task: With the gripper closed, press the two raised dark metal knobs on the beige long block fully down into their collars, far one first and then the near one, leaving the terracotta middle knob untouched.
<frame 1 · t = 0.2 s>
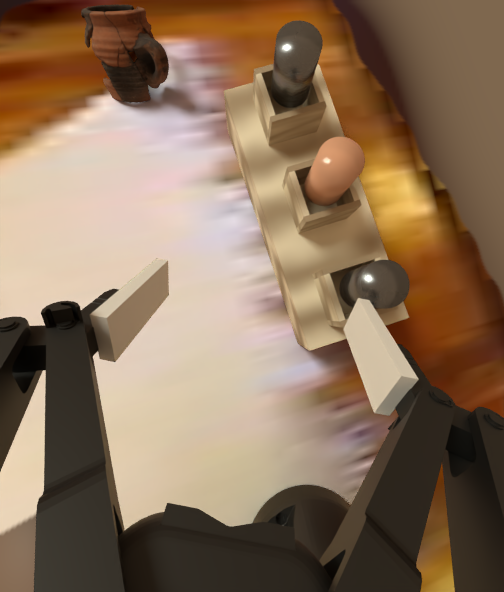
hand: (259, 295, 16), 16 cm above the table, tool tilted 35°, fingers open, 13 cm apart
beige long block: (302, 221, 33), on the table
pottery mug: (142, 78, 35), on the table
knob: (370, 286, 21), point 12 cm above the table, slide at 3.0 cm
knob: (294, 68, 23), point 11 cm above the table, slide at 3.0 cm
knob middle: (331, 174, 22), point 12 cm above the table, slide at 3.0 cm
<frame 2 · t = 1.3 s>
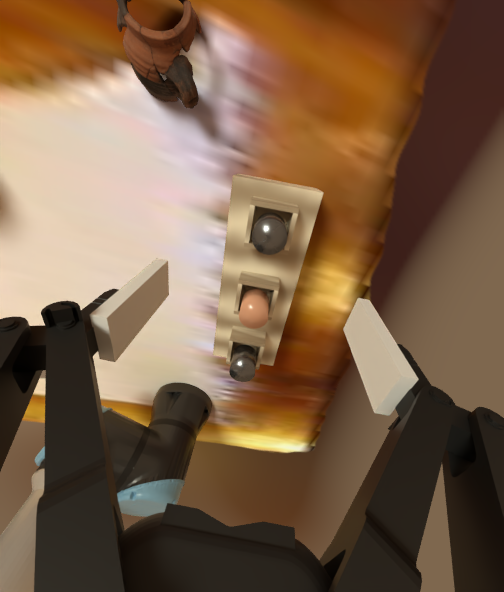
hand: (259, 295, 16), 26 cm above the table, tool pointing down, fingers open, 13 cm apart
beige long block: (259, 275, 44), on the table
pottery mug: (176, 64, 31), on the table
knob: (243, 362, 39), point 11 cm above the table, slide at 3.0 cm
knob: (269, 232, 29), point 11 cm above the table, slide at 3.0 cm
knob middle: (254, 308, 34), point 11 cm above the table, slide at 3.0 cm
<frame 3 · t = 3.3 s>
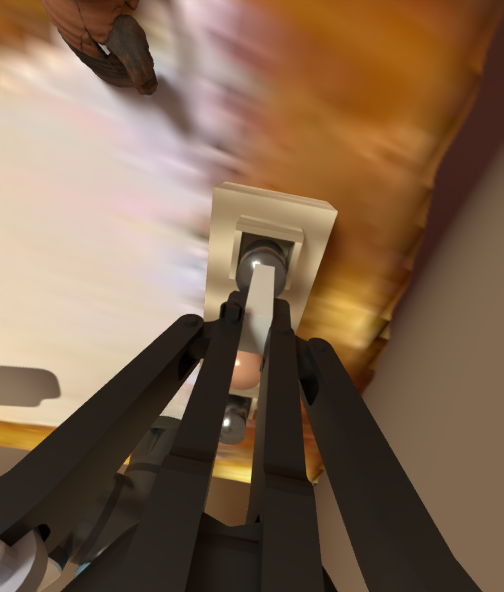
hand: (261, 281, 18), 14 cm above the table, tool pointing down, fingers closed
beige long block: (253, 304, 36), on the table
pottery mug: (130, 33, 22), on the table
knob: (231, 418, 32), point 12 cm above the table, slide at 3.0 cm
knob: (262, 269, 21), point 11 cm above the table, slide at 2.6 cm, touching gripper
knob middle: (243, 360, 26), point 12 cm above the table, slide at 3.0 cm
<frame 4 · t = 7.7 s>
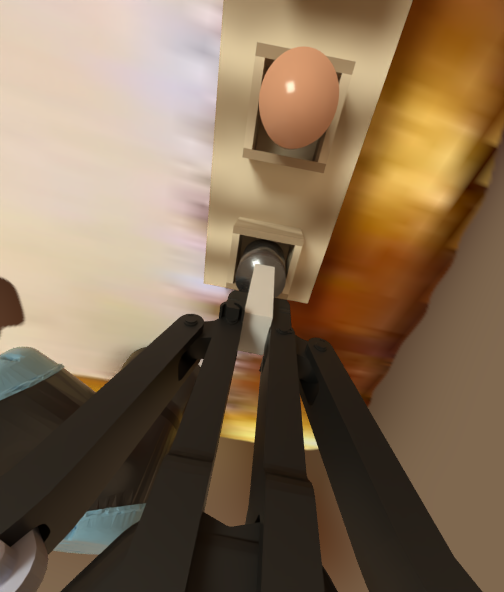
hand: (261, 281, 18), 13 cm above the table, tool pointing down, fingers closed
beige long block: (288, 128, 24), on the table
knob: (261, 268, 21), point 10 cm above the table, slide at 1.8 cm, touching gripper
knob middle: (295, 108, 14), point 11 cm above the table, slide at 3.0 cm
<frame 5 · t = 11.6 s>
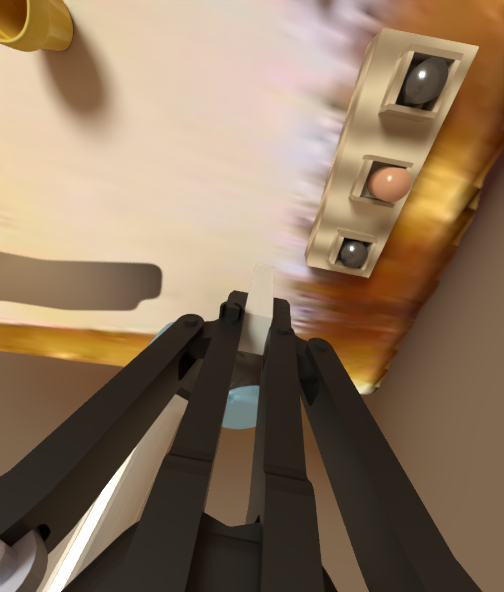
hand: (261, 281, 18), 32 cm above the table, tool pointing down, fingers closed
plant pot: (53, 22, 36), on the table
beige long block: (362, 177, 42), on the table
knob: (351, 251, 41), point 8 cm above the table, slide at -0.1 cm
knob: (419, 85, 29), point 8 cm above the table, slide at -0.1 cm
knob middle: (387, 184, 32), point 11 cm above the table, slide at 3.0 cm
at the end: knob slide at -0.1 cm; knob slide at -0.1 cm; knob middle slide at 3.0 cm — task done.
